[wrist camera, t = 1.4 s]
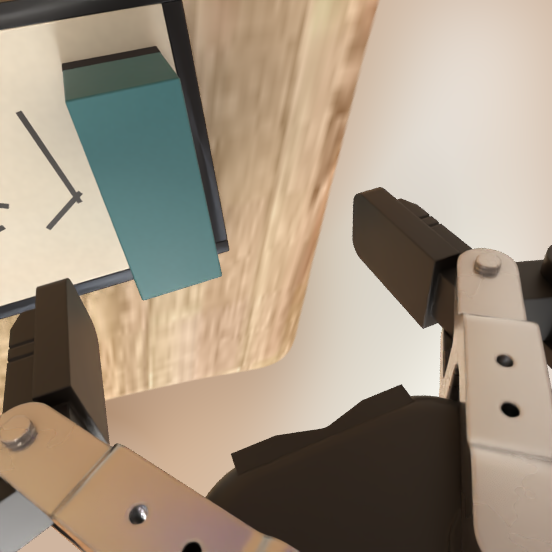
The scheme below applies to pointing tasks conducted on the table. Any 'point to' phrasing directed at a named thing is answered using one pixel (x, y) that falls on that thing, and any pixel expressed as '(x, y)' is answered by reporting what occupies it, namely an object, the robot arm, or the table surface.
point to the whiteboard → (73, 141)
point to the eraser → (144, 166)
